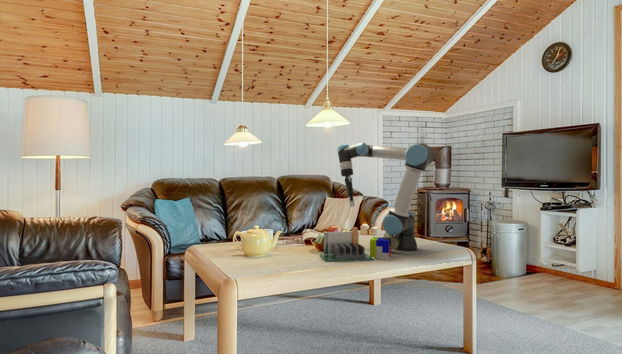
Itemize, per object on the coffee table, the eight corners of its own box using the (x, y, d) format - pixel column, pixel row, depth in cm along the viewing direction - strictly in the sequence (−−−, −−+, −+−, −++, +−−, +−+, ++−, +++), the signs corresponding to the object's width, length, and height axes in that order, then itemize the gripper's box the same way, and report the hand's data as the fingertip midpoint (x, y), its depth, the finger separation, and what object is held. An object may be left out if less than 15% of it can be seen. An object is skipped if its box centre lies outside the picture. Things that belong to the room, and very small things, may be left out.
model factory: (364, 254, 237) (364, 226, 237) (372, 259, 222) (373, 230, 222) (319, 255, 233) (319, 227, 232) (325, 261, 218) (325, 231, 217)
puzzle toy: (388, 259, 225) (388, 240, 224) (370, 257, 228) (370, 239, 228) (390, 255, 234) (391, 237, 234) (373, 254, 237) (373, 236, 237)
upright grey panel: (357, 252, 235) (357, 231, 235) (358, 253, 232) (358, 231, 232) (323, 253, 232) (323, 232, 231) (324, 254, 229) (324, 232, 229)
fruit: (401, 247, 246) (395, 228, 249) (399, 247, 237) (393, 227, 240) (385, 252, 248) (379, 232, 251) (382, 252, 239) (376, 232, 243)
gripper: (339, 171, 266) (345, 208, 262) (341, 167, 253) (347, 206, 249) (351, 170, 266) (356, 206, 262) (353, 166, 254) (359, 204, 250)
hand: (352, 206), depth 256 cm, fingers closed
